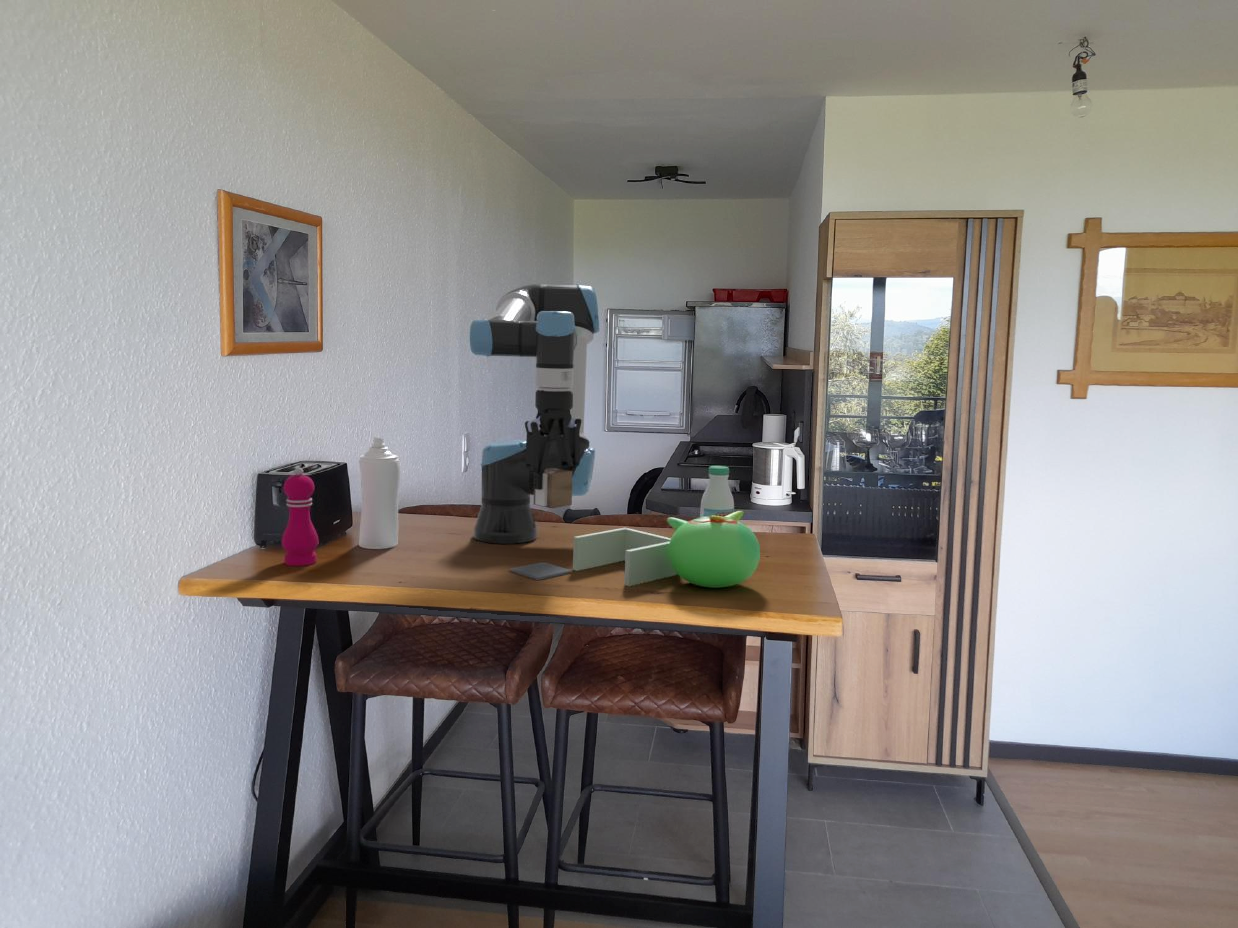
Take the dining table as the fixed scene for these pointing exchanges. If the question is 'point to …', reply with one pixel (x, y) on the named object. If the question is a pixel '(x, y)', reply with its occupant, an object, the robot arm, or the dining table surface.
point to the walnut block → (558, 488)
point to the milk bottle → (717, 494)
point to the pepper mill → (299, 521)
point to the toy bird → (713, 550)
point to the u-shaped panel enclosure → (625, 553)
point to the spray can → (379, 497)
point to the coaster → (540, 570)
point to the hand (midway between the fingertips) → (552, 502)
